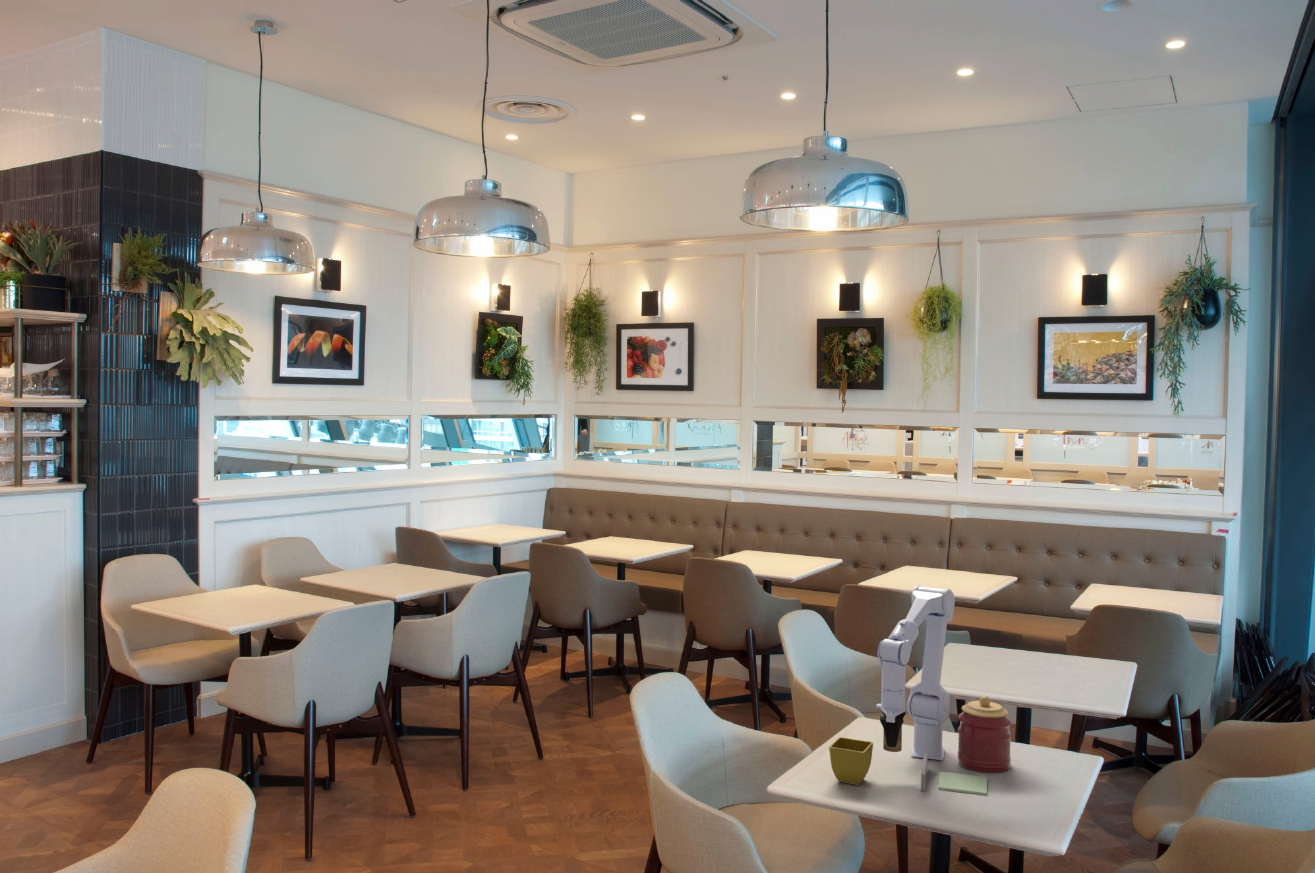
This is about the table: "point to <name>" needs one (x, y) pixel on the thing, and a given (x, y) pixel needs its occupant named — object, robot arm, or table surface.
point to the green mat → (963, 783)
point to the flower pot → (850, 759)
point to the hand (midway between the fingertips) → (892, 743)
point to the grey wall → (924, 771)
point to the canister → (984, 737)
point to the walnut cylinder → (898, 746)
